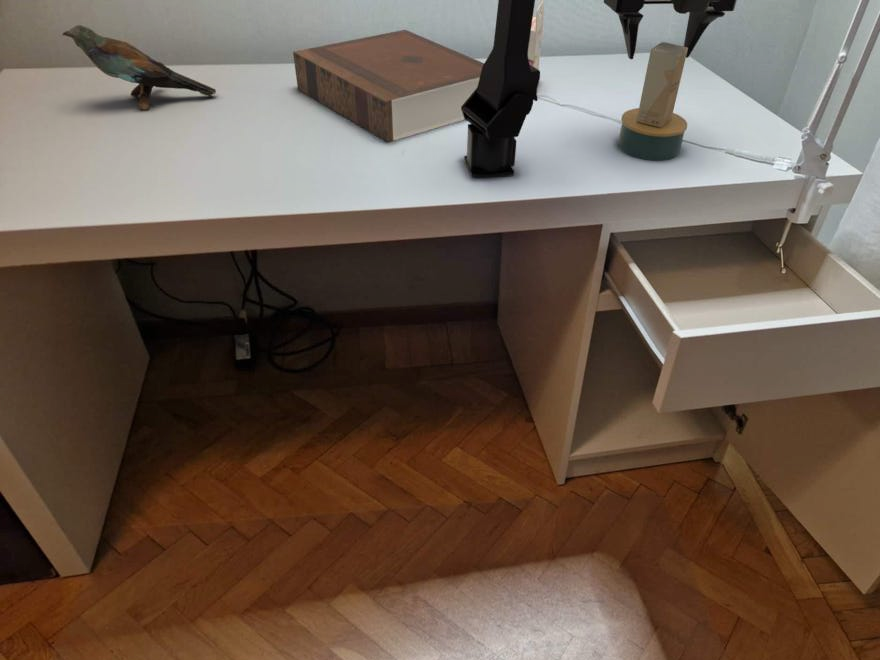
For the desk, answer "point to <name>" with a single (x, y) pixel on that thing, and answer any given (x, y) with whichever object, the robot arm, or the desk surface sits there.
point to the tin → (651, 137)
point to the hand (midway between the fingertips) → (658, 57)
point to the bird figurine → (131, 65)
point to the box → (661, 84)
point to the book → (389, 82)
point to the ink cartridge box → (536, 37)
